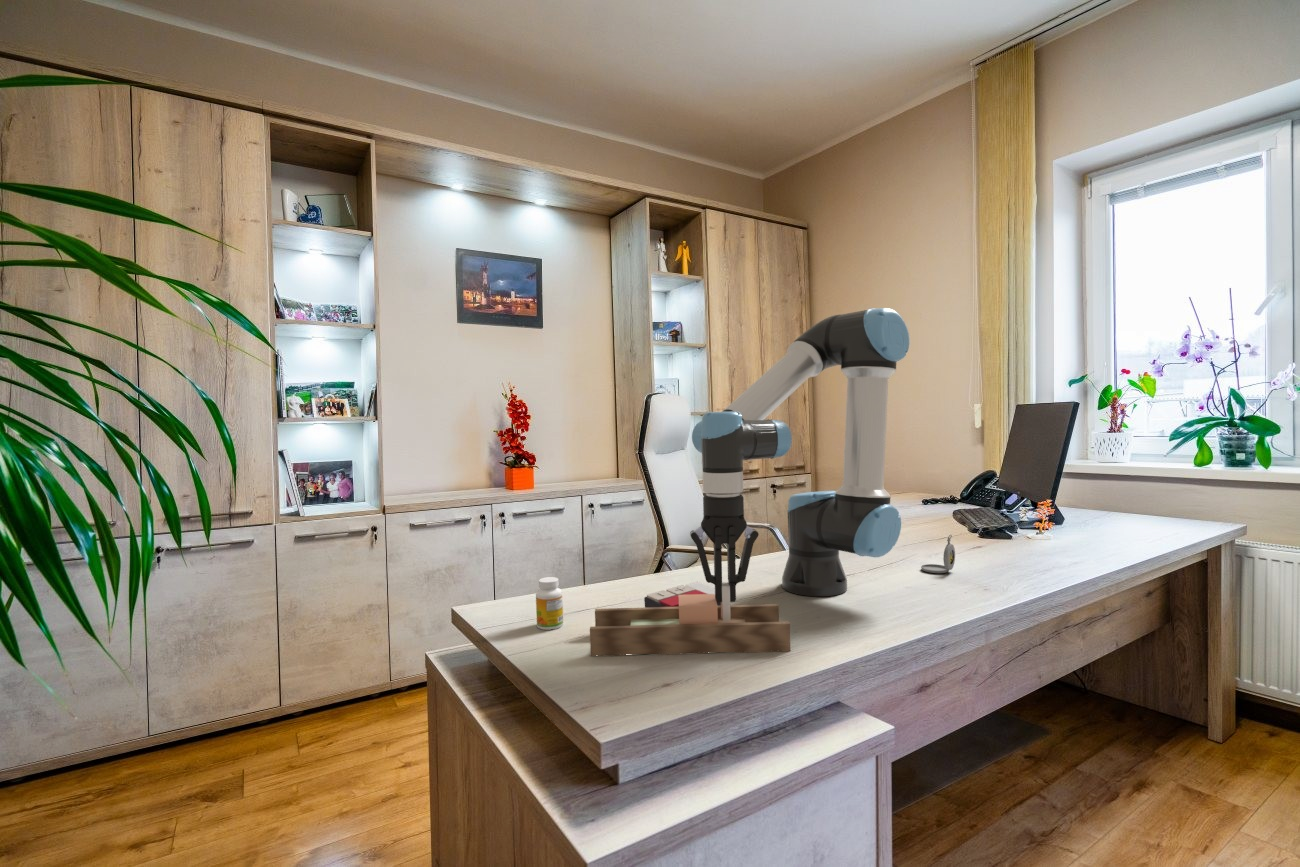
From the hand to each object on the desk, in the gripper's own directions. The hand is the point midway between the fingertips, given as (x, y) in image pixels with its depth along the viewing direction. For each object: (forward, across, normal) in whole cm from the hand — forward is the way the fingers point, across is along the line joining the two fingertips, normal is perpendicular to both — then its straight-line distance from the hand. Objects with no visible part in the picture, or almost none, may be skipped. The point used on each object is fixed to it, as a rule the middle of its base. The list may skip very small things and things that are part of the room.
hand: (725, 618), depth 121 cm
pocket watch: (+4, -60, -44) cm, 75 cm away
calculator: (+5, +6, -21) cm, 22 cm away
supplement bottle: (+5, +35, -12) cm, 37 cm away
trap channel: (+4, +7, 0) cm, 8 cm away
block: (+1, +5, 0) cm, 5 cm away
